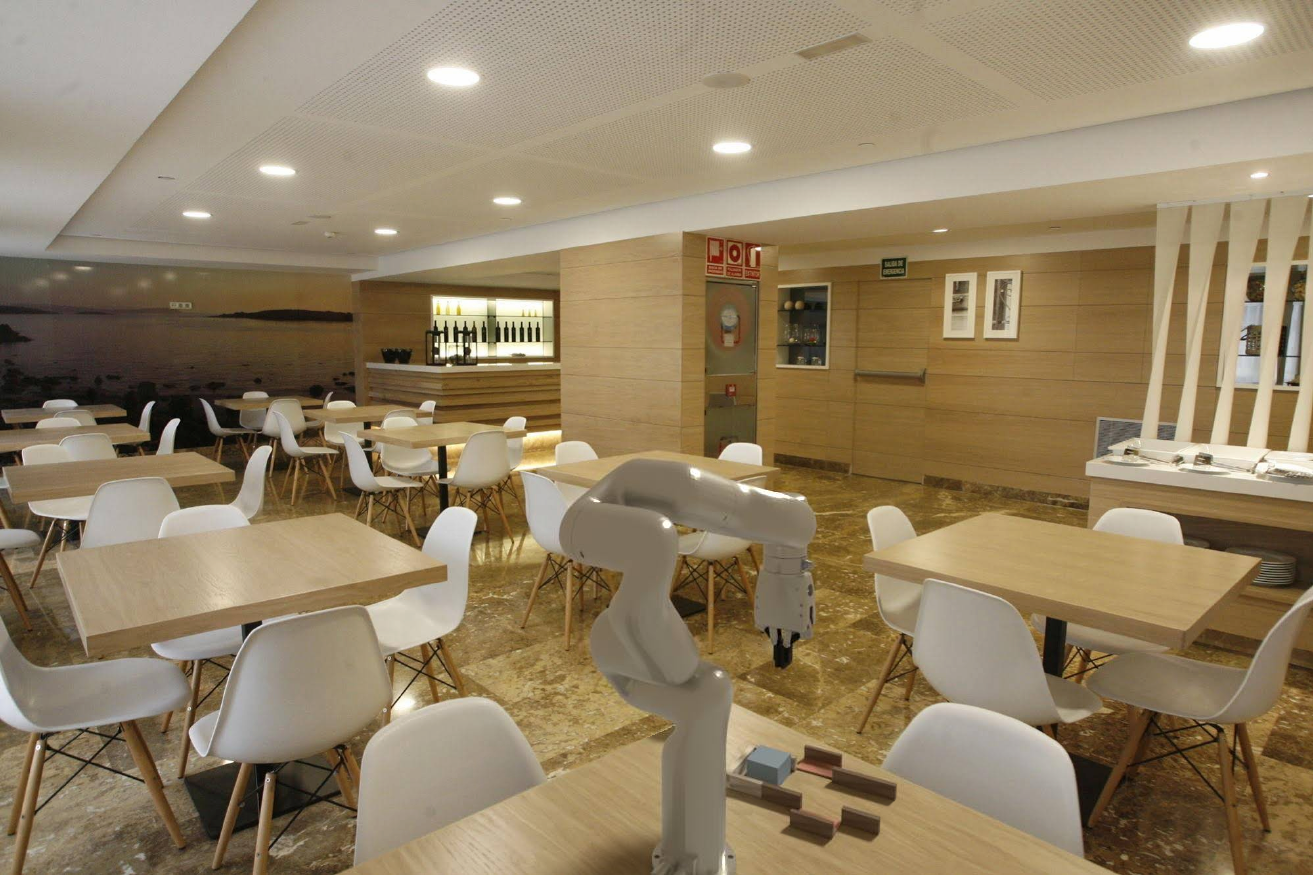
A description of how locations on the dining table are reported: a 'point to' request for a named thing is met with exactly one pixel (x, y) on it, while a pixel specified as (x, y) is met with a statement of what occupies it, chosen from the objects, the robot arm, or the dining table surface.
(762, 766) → the slate block
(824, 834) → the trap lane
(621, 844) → the dining table surface
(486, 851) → the dining table surface
